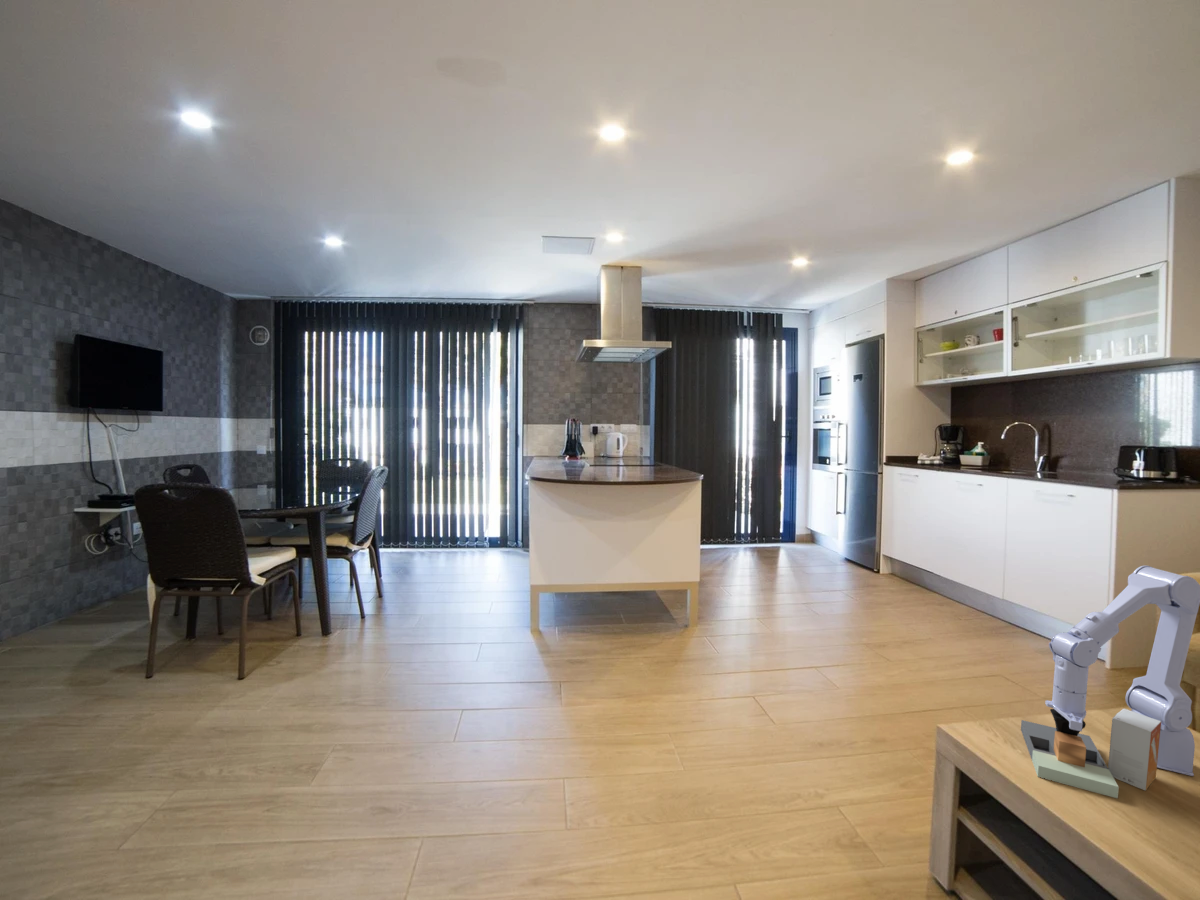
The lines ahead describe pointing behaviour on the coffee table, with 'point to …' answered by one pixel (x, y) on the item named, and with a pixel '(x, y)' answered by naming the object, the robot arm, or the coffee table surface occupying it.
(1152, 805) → the coffee table surface
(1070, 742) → the orange block
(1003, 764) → the coffee table surface
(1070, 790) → the coffee table surface
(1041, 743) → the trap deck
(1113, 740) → the small box
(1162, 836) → the coffee table surface
